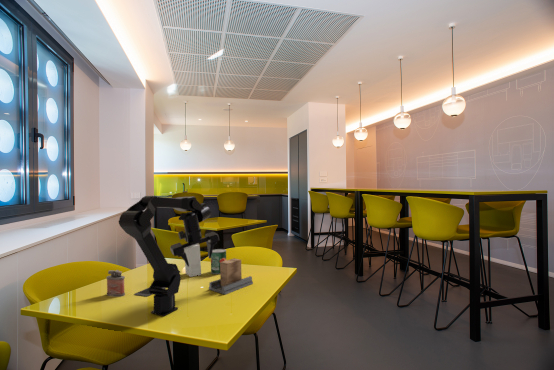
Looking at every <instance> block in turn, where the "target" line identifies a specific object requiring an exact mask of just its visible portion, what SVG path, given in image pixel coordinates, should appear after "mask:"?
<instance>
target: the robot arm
mask: <svg viewBox="0 0 554 370" xmlns="http://www.w3.org/2000/svg"><path fill="white" fill-rule="evenodd" d="M157 208H161V209H162V208H163V209H165V208H166V209H174V210H176V211H177V212H178V211H179V212H181V214H180V216H179V217H178V221H182V222H183V226H184V230H181V231H178V233H177V234H178V237H179V240H184V241H185V242H186V243H184V244H182V243H181V242H178V243H174V244H171V245H170V248H169V249H170V252H171V254H172V256H174V257H176V256H177V257H178V258H180V257H181V258H182V260H183V261H184V264H185V263H186V264H187V266H188V267H189V263H188V259H187V256H186V253H185V251H184V249H186V248H189V247H192V246H195V245H200V244H201V245H202V244H203V243H206V246H207V247H206V249H207V255H208V259H211V255H212V251H213V250H214V249H215V246H216V245H217V243H218V242H219V241H220V235H219V234H218V233H216V232H215V231H211V232H207V233H205V234H204V235H205V236H204V237H203V236H202V233H201V232H202V230H201V227H200V223H203V222H204V221H205V220H207V219H209V218H210V217H211V215H212V211H211V209H210V207H209V206H207V203H205V202H203V203H200V202H199V201H198V200H197V198H196V196H178V197H166V196H165V197H164V196H157V195H144V196H143V197H141V198H140V200H139V201H137V202H136V203H134V204H132V205H131V206H130V207H128V208H127V210H125V211H123V212H122V213H121V214H120V215H119V219H118V224H119V227H120V228H121V229H122V230H123V231H124V232H125V233H126V234H127V235H129V236H130V237H131V238H133V239H134V240H135V241H136V242H137V244H138V247H140V250H141V251H142V253H143V255H144V256H145V258H146V260H147V261H148V263H149V265H150V266H151V268H152V270H153V272H152V273H153V275H152V278H153V280H152V282H151V284H150V286H149V287H148V288H149V289H148V290H149V293H150V294H152V295H153V310H151V311H150V313H151V314H153V315H157V316H161V317H165V316H167V315H169V314H171V313H173V312H174V311H177V310H178V309H179V307H177V306H176V294H178V293H179V289H180V286H181V279H182V276H181V270H179V268H178V265H177V264H176V263H169V262H168V261H167V259H166V257H165V255H164V254H163V252H162V250H161V247H160V246H159V245H158V242H157V241H156V239H155V237H154V236H153V234H152V232H151V230H152V222H151V221H152V219H153V218H154V216H155V214H156V209H157ZM185 212H186V213H185ZM162 287H165V288H166V289H162Z"/></svg>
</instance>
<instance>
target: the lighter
mask: <svg viewBox="0 0 554 370" xmlns="http://www.w3.org/2000/svg"><path fill="white" fill-rule="evenodd" d="M122 272H123V271H120V270H119V269H116V270H113V269H112V270H111V269H110V270H108V271H107V273H108V275H107V276H106V296H108V297H115V298H117V297H124V296H125V295H126V292H125V275H122Z"/></svg>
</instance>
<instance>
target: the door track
mask: <svg viewBox="0 0 554 370" xmlns="http://www.w3.org/2000/svg"><path fill="white" fill-rule="evenodd" d="M253 284H254V282H253V276H251V275H250V276H246V277H244V278H242V279H241V280H238V281H235V282H233V283H230V284H227V285H224V286H221V279H220V278H218V279H216V280H213V281H210V282H209V283H208V285H209V286H208V290H209V291H213V292H215V293H219V294H222V295H224V296H225V295H228V294H230V293H233V292H235V291H238V290H240V289H243V288H245V287H249V286H251V285H253Z"/></svg>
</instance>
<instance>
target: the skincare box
mask: <svg viewBox="0 0 554 370" xmlns="http://www.w3.org/2000/svg"><path fill="white" fill-rule="evenodd" d="M184 252H185V253H186V256H187V259H188V263H189V267H188V266H187V264H186V263H185V262H184V268H185V274H186V275H187V276H189V277H190V278H191V277H197V275H198V276H201V275H202V265H201V264H202V263H201V246H200V244H198V245H195V246H192V247H189V248H186V249H184Z"/></svg>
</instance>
